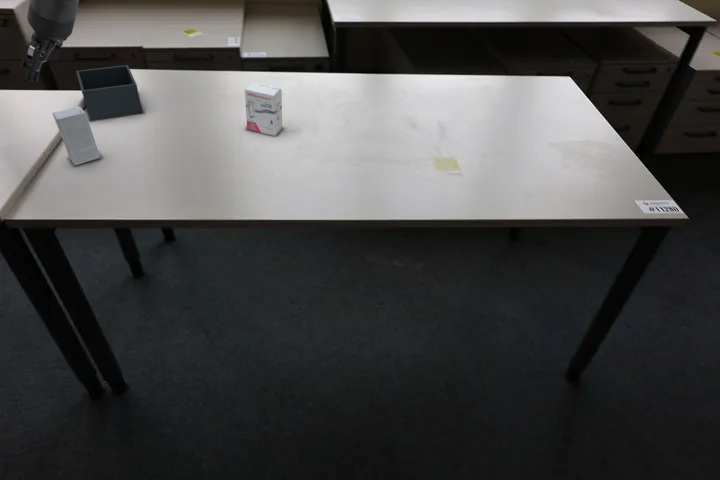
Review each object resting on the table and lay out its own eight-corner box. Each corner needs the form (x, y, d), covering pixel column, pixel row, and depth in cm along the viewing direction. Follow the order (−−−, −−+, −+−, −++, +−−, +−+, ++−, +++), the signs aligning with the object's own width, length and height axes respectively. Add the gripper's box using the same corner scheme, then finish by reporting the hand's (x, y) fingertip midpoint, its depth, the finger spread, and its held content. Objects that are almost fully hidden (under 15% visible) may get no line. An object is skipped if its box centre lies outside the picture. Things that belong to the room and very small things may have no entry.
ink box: (245, 129, 139) (242, 88, 131) (253, 121, 143) (251, 80, 135) (275, 136, 138) (274, 95, 130) (282, 128, 141) (282, 87, 133)
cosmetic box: (94, 150, 126) (80, 105, 118) (101, 158, 123) (86, 112, 115) (68, 158, 122) (51, 112, 115) (74, 166, 120) (57, 119, 112)
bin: (90, 120, 136) (81, 91, 131) (84, 99, 144) (75, 70, 139) (142, 113, 141) (136, 84, 136) (133, 92, 150) (127, 64, 144)
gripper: (50, -22, 99) (38, 42, 110) (12, 12, 90) (3, 78, 101) (90, 1, 102) (75, 61, 113) (57, 36, 93) (43, 98, 104)
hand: (41, 69), depth 107 cm, fingers open, 8 cm apart
